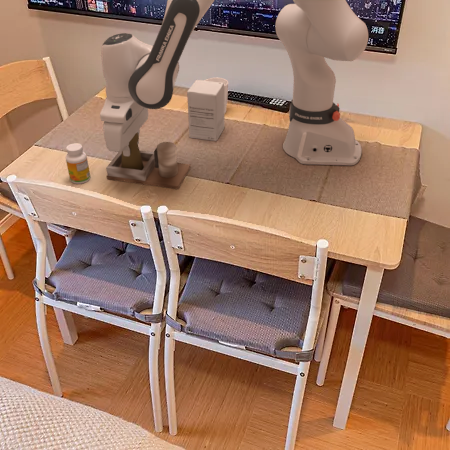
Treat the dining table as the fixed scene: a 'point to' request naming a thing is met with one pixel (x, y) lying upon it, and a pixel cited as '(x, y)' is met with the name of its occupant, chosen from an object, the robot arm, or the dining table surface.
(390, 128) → the dining table surface
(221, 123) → the supplement box
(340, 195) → the dining table surface
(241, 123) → the dining table surface
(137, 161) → the olive brown pawn
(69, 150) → the supplement bottle
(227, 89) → the white cup
